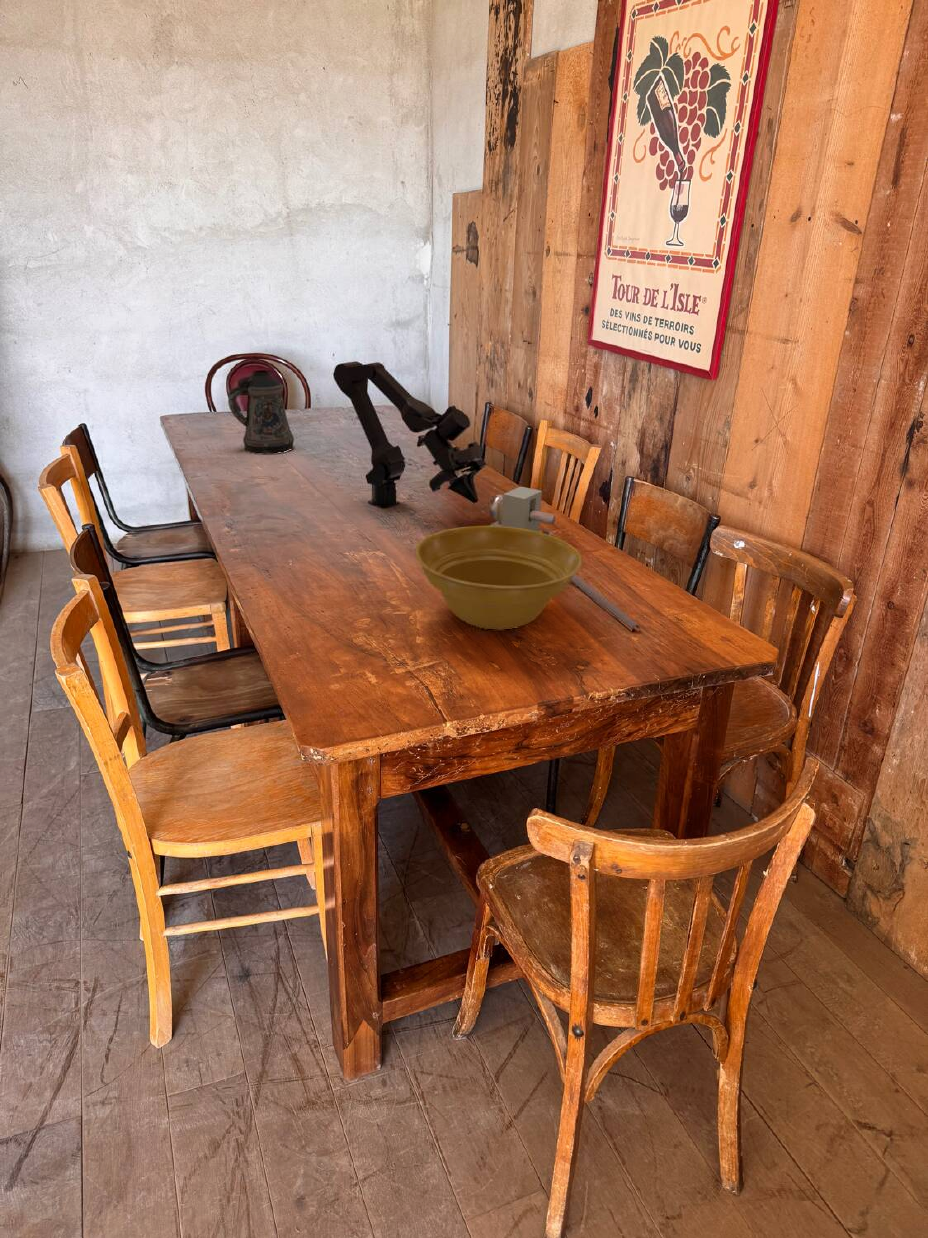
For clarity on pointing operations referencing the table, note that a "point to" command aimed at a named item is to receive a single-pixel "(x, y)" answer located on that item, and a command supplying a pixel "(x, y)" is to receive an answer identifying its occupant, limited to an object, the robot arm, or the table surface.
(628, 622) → the metal rod
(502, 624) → the planter bowl
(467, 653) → the table surface
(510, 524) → the bearing block
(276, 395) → the beer stein
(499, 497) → the shaft
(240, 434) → the table surface
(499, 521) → the spacer collar
